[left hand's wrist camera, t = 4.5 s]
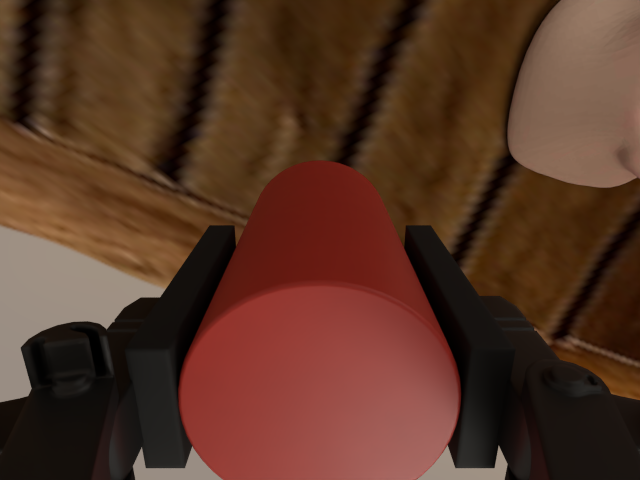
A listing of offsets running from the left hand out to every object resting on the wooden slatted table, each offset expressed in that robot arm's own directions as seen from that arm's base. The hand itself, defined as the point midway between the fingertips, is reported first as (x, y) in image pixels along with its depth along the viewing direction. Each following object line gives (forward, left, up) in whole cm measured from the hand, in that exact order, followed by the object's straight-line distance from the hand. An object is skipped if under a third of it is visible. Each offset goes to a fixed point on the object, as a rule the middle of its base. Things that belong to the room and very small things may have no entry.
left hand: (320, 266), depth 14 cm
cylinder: (0, 0, -4) cm, 4 cm away
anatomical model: (-10, +14, -12) cm, 21 cm away
